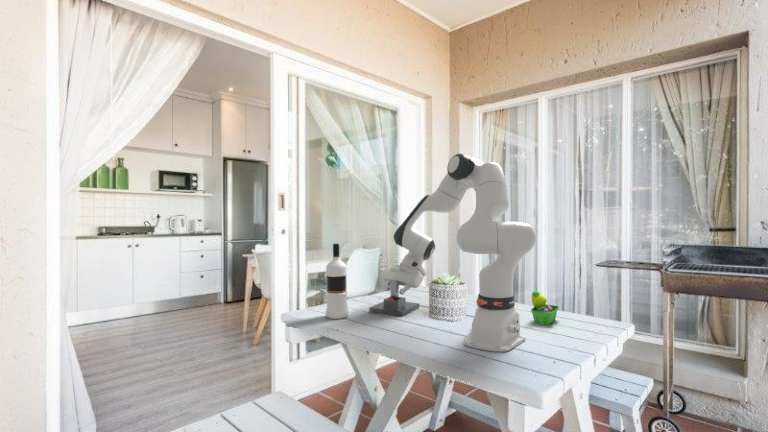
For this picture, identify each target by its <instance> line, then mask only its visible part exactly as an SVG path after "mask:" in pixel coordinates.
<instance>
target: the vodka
mask: <svg viewBox="0 0 768 432" xmlns="http://www.w3.org/2000/svg"><path fill="white" fill-rule="evenodd" d="M347 267H348V266H347V264H346V263H345V262H343V261H342V260H341V259H340V244H339V243H333V244H332V260H331V261H329V262H328V263H327V264H326V268H325V270H326V273H325V274H326V310H325V316H326V317H327V318H328V319H329V320H342V319H345V318H347V317H349V312H350V311H349V308H348V295H347V294H348V291H347V275H348V274H347V269H348V268H347Z"/></svg>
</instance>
